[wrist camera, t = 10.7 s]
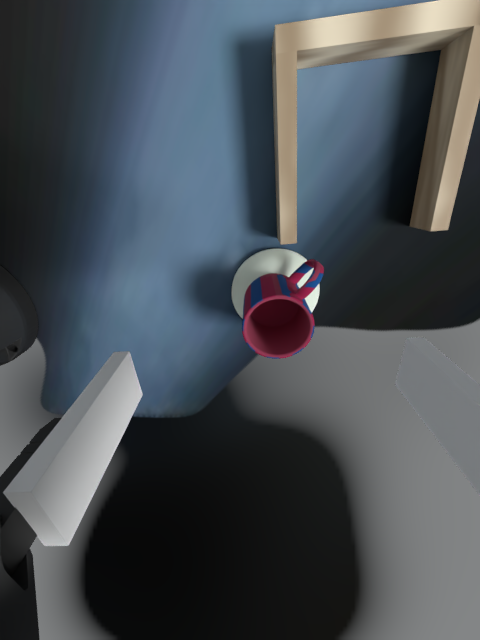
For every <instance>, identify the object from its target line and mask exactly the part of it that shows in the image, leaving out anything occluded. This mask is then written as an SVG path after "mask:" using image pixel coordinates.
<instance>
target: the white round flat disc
mask: <svg viewBox="0 0 480 640" xmlns="http://www.w3.org/2000/svg"><path fill="white" fill-rule="evenodd" d="M306 261H307V260H306V259H305V258H304V257H303V256H302V255H300V254H298V253H297V252H294V251H292V250H288V249H283V248H271V249H266V250H262V251H260V252H257V253H255V254H253V255H252V256H250V257H249V258H248V259H246V260H245V261H244V262H243V263H242V265H241V266H240V267H239V269H238V270H237V272H236V274H235V277H234V279H233V283H232V291H231V292H232V301H233V304H234V307H235V309H236V311H237V313H238V314H239V316H240V317H241V318H242V319H243V304H244V295H245V292H246V290H247V288H248V286H249V285H250V284H251V283H252V282H253V281H254V280H255V279H257V278H258V277H260V276H263V275H265V274H271V273H277V274H282V275H285V276H288V277H290V275H291V274H292V273H293V272H294V271H295V270H296V269H298V268H299V267H300V266H301V265H302V264H303V263H304V262H306ZM313 269H314V268H312V269H311V270H310V271H309V272H307V273H306V274H305V275H304V276H303V277H302V278H301V280H300V281H299V282H298V283H297V285H298V287H299V288H300V287H302V286H303V285H304V283H305V282H306V281H307V280H308V279H309V277H310V276H311V274H312V272H313ZM319 290H320V289H319V284H318V285H317V287H316V288H315V289H314V290H313V291H312V292H311V293H310V294H309V295H308V296H307V297H306V298H305V300H306V303H307V305H308V307H309V309H310V311H311V313H312V311H313V310H314V308H315V306H316V304H317V301H318V297H319Z"/></svg>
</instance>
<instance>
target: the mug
mask: <svg viewBox="0 0 480 640" xmlns="http://www.w3.org/2000/svg"><path fill="white" fill-rule="evenodd" d="M312 268H314V269H313V272H312V274H311V276H310V277H309V279H308V280H307V281H306V282H305V283H304V285H303V286H302V287H300V288H299V287H298V285H297V283H298V282H299V281H300V280H301V278H302V277H303V276H304V275H305V274H306V273H307V272H309V271H310V270H311V269H312ZM323 272H324V268H323V266H322V265H321V264H320V263H319V262H318V261H316V260H314V259H310V260H308V261H306V262H304V263H303V264H302V265H301V266H300V267H299V268H298V269H296V270H295V271H294V272H293V273H292V274H291V275H290V277H288V276H285V275H282V274H277V273H271V274H265V275H263V276H260V277H258V278H257V279H255V280H254V281H253V282H252V283H251V284H250V285H249V286H248V288H247V290H246V292H245V295H244V304H243V321H242V333H243V337H244V339H245V341H246V343H247V344H248V346H249V347H250V348H251V349H252V350H253V351H254V352H256V353H257V354H259V355H262V356H264V357H268V358H286V357H289V356H292V355H294V354H297V353H298V352H299V351H301V350H302V349H303V348H304V347H306V346H307V344H308V343H309V341H310V340H311V338H312V336H313V333H314V326H315V325H314V318H313V315H312V313H311V311H310V309H309V307H308V305H307V303H306V300H305V298H306V297H307V296H308V295H309V294H310V293H311V292H312V291H313V290H314V289H315V288H316V287H317V285H318V284H319V283H320V281H321V279H322V277H323Z"/></svg>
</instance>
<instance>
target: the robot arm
mask: <svg viewBox="0 0 480 640" xmlns="http://www.w3.org/2000/svg"><path fill="white" fill-rule="evenodd" d="M37 333H38V318H37V314H36V310H35V307H34V305H33V303H32V301H31V299H30V297H29V296H28V294H27V292H26V291H25V290H24V288H23V287H22V286H21V284H20V283H19V282H18V281H17V280H16V279H15V278H14V277H13V276H12V275H11V274H10V273H9V272H8V271H7V270H5V269H4V268H3V267H2V266H0V366H1V365H3V364H6V363H8V362H10V361H12V360H14V359H15V358H17V357H18V356H20V355H21V354H22V353H24V352H25V351H27V350H28V349H29V348H30V347H31V346H32V345H33V343H34V341H35V339H36V337H37ZM395 385H396V386H397V388H398V389H399V390H400V392H401V393H402V394H403V396H404V397H405V398H406V400H407V401H408V402H409V403H410V405H411V406H412V407H413V409H414V410H415V411H416V413H417V414H418V415H419V417H420V418H421V419H422V421H423V422H424V423H425V425H426V426H427V427H428V429H429V430H430V431H431V432H432V434H433V435H434V436H435V437H436V439H437V440H438V442H439V443H440V444H441V446H442V447H443V448H444V450H445V451H446V452H447V453H448V455H449V456H450V457H451V459H452V460H453V461H454V463H455V464H456V465H457V467H458V468H459V469H460V470H461V472H462V473H463V474H464V476H465V477H466V478H467V480H468V481H469V482H470V484H471V485H472V486H473V488H474V489H475V490H476V492H477V493H478V494H479V496H480V384H479V383H478V382H476V381H475V380H474V379H473V378H472V377H470V376H469V375H468V374H467V373H466V372H464V371H463V370H462V369H461V368H460V367H459V366H457V365H456V364H455V363H454V362H453V361H451V360H450V359H449V358H448V357H447V356H445V355H444V354H443V353H442V352H441V351H439V350H438V349H437V348H436V347H435V346H434V345H432V344H431V343H430V342H429V341H428V340H426V339H425V338H424V337H412V338H406V342H405V346H404V350H403V354H402V358H401V362H400V366H399V370H398V374H397V378H396V382H395ZM141 397H142V391H141V388H140V385H139V381H138V378H137V375H136V371H135V368H134V365H133V362H132V358H131V355H130V352H129V351H127V352H114V353H113V354H112V355H111V357H110V358H109V359H108V360H107V362H106V363H105V364H104V365H103V367H102V368H101V369H100V371H99V372H98V373H97V374H96V376H95V377H94V378H93V379H92V381H91V382H90V383H89V384H88V386H87V387H86V388H85V389H84V391H83V392H82V393H81V395H80V396H79V397H78V398H77V400H76V401H75V402H74V403H73V405H72V406H71V407H70V408H69V410H68V411H67V412H66V413H65V415H64V416H63V417H62V418H54V419H53V420H52V421H51V422H49V423H48V424H47V425H45V426H44V427H43V428H42V429H40V430H39V432H38V433H37V434H36V435H35V436H34V438H33V439H32V440H31V441H30V444H29V445H27V446H26V447H25V448H24V449H23V451H22V452H21V455H18V456H17V458H16V459H15V460H14V461H13V462H12V464H11V465H10V466H9V467H8V468H7V469H6V471H5V472H4V473H3V474H2V475H1V477H0V640H39V628H38V616H37V603H36V591H35V579H34V566H33V555H32V553H31V550H30V549H29V548H30V547H31V545H32V543H33V542H34V540H35V538H36V536H37V537H38V538H39V539H40V541H41V542H42V543H43V544H44V546H68V545H69V543H70V541H71V539H72V537H73V535H74V533H75V531H76V529H77V527H78V525H79V523H80V521H81V519H82V517H83V515H84V513H85V511H86V509H87V507H88V505H89V503H90V501H91V499H92V497H93V495H94V493H95V491H96V488H97V487H98V484H99V482H100V480H101V478H102V476H103V474H104V472H105V470H106V468H107V466H108V464H109V462H110V460H111V458H112V456H113V454H114V452H115V450H116V448H117V446H118V444H119V442H120V440H121V438H122V436H123V434H124V432H125V430H126V428H127V425H128V423H129V421H130V419H131V417H132V415H133V413H134V411H135V409H136V407H137V405H138V403H139V401H140V399H141Z"/></svg>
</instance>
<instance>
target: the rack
mask: <svg viewBox="0 0 480 640" xmlns="http://www.w3.org/2000/svg"><path fill="white" fill-rule="evenodd" d="M436 50H441V54H440V60H439V66H438V71H437V77H436V82H435V88H434V93H433V99H432V105H431V110H430V116H429V121H428V127H427V132H426V138H425V143H424V149H423V155H422V160H421V166H420V171H419V177H418V182H417V188H416V194H415V199H414V205H413V210H412V216H411V221H410V227H415V228H419V229H423V230H427V231H439V230H448V227H449V222H450V218H451V214H452V210H453V206H454V202H455V198H456V193H457V189H458V185H459V181H460V177H461V173H462V169H463V164H464V160H465V156H466V152H467V148H468V144H469V140H470V135H471V131H472V127H473V123H474V119H475V115H476V111H477V106H478V102H479V98H480V0H439V1H433V2H426V3H419V4H412V5H406V6H399V7H392V8H386V9H379V10H372V11H366V12H359V13H352V14H345V15H339V16H332V17H325V18H319V19H312V20H305V21H298V22H292V23H285V24H278V25H275V29H274V36H273V42H272V80H273V112H274V145H275V178H276V210H277V239H278V240H279V242H280V244H292V243H297V69H303V68H311V67H318V66H325V65H333V64H340V63H348V62H355V61H362V60H370V59H377V58H384V57H392V56H399V55H406V54H414V53H421V52H428V51H436Z"/></svg>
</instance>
